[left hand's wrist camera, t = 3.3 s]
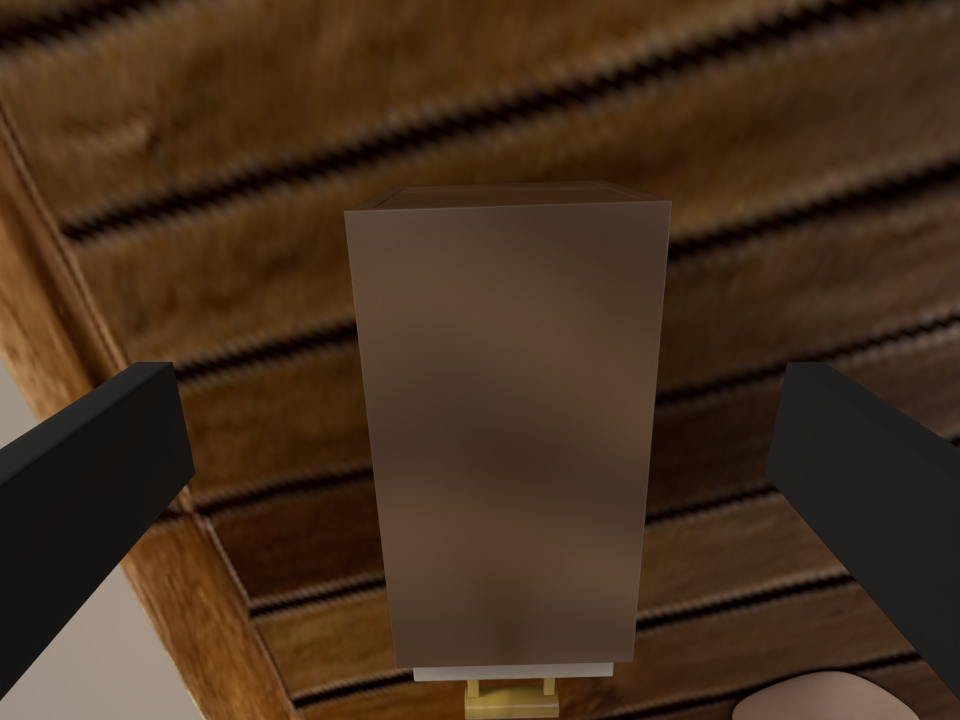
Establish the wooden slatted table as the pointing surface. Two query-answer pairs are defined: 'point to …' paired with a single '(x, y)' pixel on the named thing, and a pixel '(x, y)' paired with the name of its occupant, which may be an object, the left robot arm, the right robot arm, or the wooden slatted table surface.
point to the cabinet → (510, 412)
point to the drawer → (512, 687)
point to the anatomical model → (823, 700)
